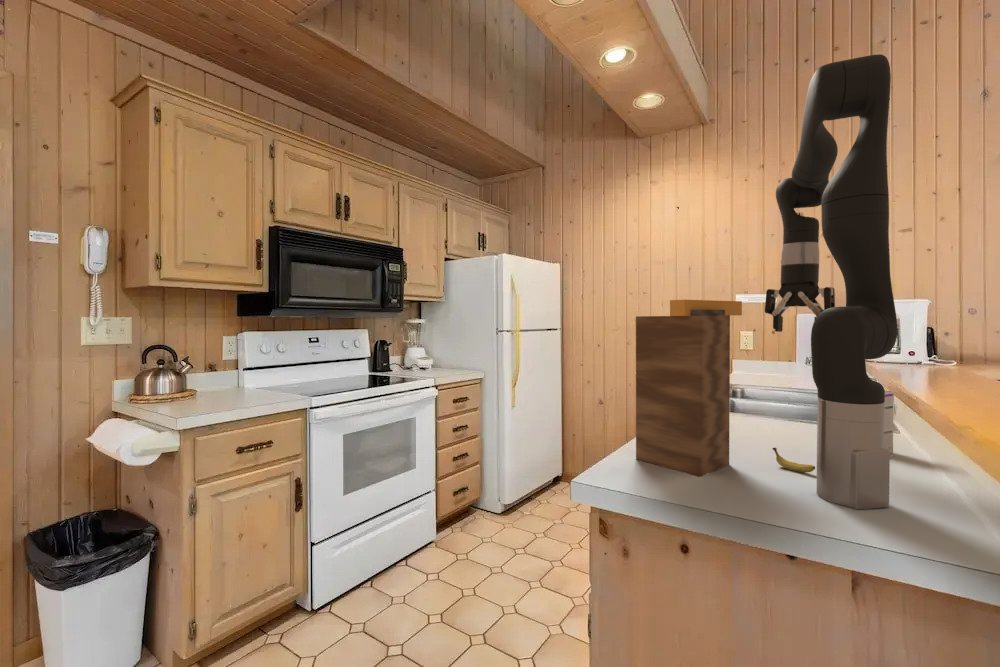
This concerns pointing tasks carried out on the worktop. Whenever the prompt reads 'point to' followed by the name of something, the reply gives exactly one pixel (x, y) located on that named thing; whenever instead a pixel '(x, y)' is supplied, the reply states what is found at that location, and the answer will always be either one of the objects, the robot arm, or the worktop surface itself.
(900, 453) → the worktop surface
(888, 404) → the syrup box
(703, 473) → the walnut stand
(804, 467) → the banana
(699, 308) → the orange-brown bar
